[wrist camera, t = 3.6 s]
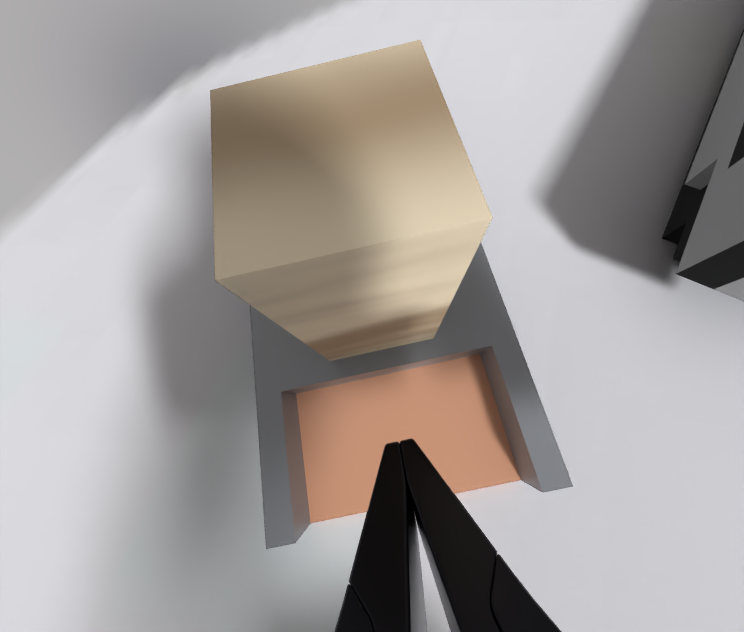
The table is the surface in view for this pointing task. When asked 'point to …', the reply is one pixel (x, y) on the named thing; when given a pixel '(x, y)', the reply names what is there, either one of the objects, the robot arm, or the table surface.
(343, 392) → the box
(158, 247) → the table surface
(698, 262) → the game console
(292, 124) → the block
